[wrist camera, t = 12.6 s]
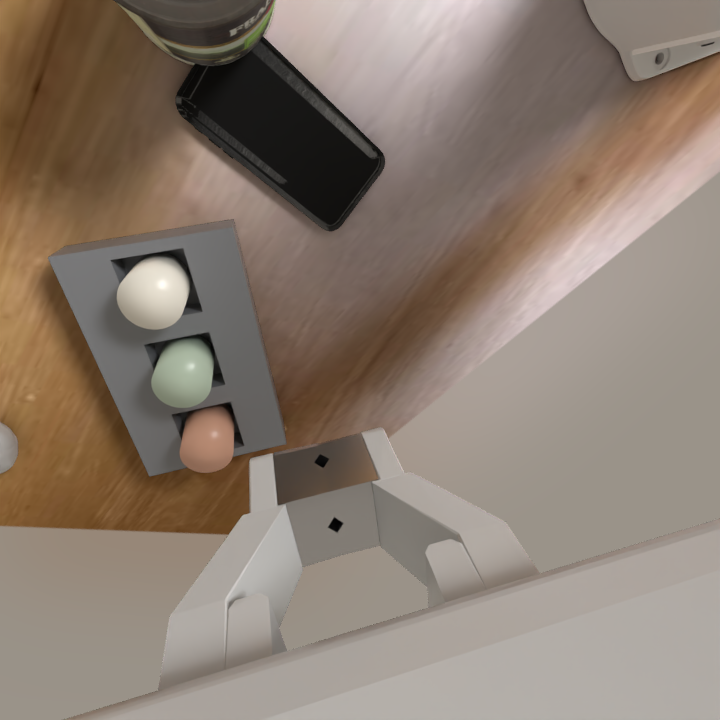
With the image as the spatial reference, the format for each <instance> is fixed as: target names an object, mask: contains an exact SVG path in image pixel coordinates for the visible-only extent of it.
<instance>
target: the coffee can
mask: <svg viewBox="0 0 720 720" xmlns="http://www.w3.org/2000/svg"><path fill="white" fill-rule="evenodd" d="M114 1H115V2H116V3H117V4H118V5H119V6H120V7H121V8H122V9H123V10H124V11H125V12H126V13H127V14H128V15H129V16H130V17H131V18H132V19H133V21H134V22H136V24H137V25H138V26H139V28H140V29H141V30H142V31H143V32H144V33H145V35H146V36H147V37H148V38H149V39H150V40H151V41H152V42H153V43H155V44H156V45H157V46H158V47H159V48H160V49H162V50H163V51H164V52H166V53H168V54H169V55H170V56H172V57H174V58H176V59H178V60H180V61H182V62H185V63H187V64H190V65H194V64H195V63H196V64H200V65H222V64H227V63H231V62H233V61H235V60H237V59H239V58H241V57H242V56H244V55H245V54H247V53H248V52H249V51H250V50H251V49H252V48H253V47H254V46H255V45H256V44H257V43H258V42H259V40H260V39H261V38H262V36H263V37H264V36H265V34H266V32H267V30H268V28H269V26H270V23H271V20H272V17H273V13H274V8H275V1H276V0H114Z"/></svg>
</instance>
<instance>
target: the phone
mask: <svg viewBox="0 0 720 720" xmlns="http://www.w3.org/2000/svg"><path fill="white" fill-rule="evenodd" d="M176 106H177V110H178V111H179V113H180V115H181V116H182V117H183V118H184V119H186V120H187V121H188V122H189V123H191V124H192V125H193V126H194V127H195V128H196V129H197V130H198V131H199V132H201V133H203V134H204V135H206V136H207V137H208V138H209V140H210V141H212V142H213V143H214V144H215V145H217V146H218V147H219V148H220V147H221V148H222V149H223V151H224V152H225V153H226V154H228V155H229V156H230V157H231V158H235V159H236V160H237V161H238V162H240V163H241V164H242V165H243V166H245V167H246V168H247V169H248V170H250V171H251V172H252V173H253V174H255V175H256V176H257V177H259V178H260V179H261V180H262V181H264V182H265V183H266V184H267V185H269V186H270V187H271V188H272V189H274V190H275V191H276V192H277V193H279V194H280V195H281V196H282V197H284V198H285V199H286V200H287V201H289V202H290V203H291V204H292V205H294V206H295V207H296V208H298V209H299V210H300V211H301V212H303V213H304V214H305V215H306V216H308V217H309V218H310V219H311V220H313V221H314V222H315V223H316V224H318V225H319V226H320V227H321V228H323V229H325V230H327V231H334V230H336V229H338V228H339V227H340V226H341V225H342V224H343V223H344V221H345V220H346V219H347V217H348V216H349V215H350V213H351V212H352V211H353V209H354V208H355V207H356V205H357V204H358V203H359V201H360V200H361V199H362V197H363V196H364V195H365V193H366V192H367V191H368V189H369V188H370V187H371V185H372V184H373V183H374V182H375V180H376V179H377V178H378V176H379V175H380V174H381V172H382V170H383V169H384V165H385V158H384V155H383V153H382V152H381V150H380V149H379V148H378V147H377V146H376V145H375V144H373V143H372V142H371V141H370V140H369V139H368V138H367V137H366V136H365V135H364V134H363V133H362V132H361V131H360V130H359V129H358V128H357V127H356V126H355V125H354V124H353V123H352V122H351V121H350V120H349V119H348V118H347V117H346V116H345V115H344V114H343V113H342V112H341V111H339V110H338V109H337V108H336V107H335V106H334V105H333V104H332V103H331V102H330V101H329V100H328V99H327V98H326V97H325V96H324V95H323V94H322V93H321V92H320V91H319V90H318V89H317V88H316V87H315V86H314V85H313V84H312V83H311V82H310V81H309V80H308V79H306V78H305V77H304V76H303V75H302V74H301V73H300V72H299V71H298V70H297V69H296V68H295V67H294V66H293V65H292V64H291V63H290V62H289V61H288V60H287V59H286V58H285V57H284V56H283V55H282V54H281V53H280V52H279V51H278V50H277V49H276V48H275V47H274V46H272V45H271V44H270V43H269V42H268V41H267V40H266V39H265V38H264V37H263V36H262V38H261V39H260V40H259V42H258V43H257V44H256V45H255V46H254V47H253V48H252V49H251V50H250V51H249V52H248V53H247V54H245V55H244V56H242V57H241V58H239V59H237V60H235V61H233V62H231V63H227V64H222V65H200V64H196V63H195V64H194V66H193V68H192V69H191V71H190V73H189V74H188V76H187V77H186V79H185V81H184V82H183V84H182V86H181V87H180V89H179V91H178V93H177V95H176Z"/></svg>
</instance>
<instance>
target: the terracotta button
mask: <svg viewBox="0 0 720 720" xmlns="http://www.w3.org/2000/svg"><path fill="white" fill-rule="evenodd" d="M234 424H235V417H234V414H233V411H232V410H231V409H230V408H229V407H228V406H227V405H226V404H224V403H222V404H218V405H213V406H209V407H204V408H200V409H195V410H191V411H189V412H188V414H187V417H186V422H185V427H184V432H183V437H182V442H181V447H180V458H181V460H182V462H183V463H184V465H185V466H187V467H188V468H189V469H191V470H193V471H196V472H201V473H210V472H215V471H218V470H221V469H222V468H224V467H225V466H227V465H228V464H229V463H230V461H231V460H232V457H233V453H234Z"/></svg>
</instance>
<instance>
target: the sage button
mask: <svg viewBox="0 0 720 720" xmlns="http://www.w3.org/2000/svg"><path fill="white" fill-rule="evenodd" d="M214 362H215V353H214V349H213V347H212V346H211V344H210V343H209V342H208V341H207V340H206V339H205V338H203V337H201V336H199V335H191V336H186V337H181V338H176V339H170V340H168V341H167V342H166V343H165V345H164V346H163V349H162V352H161V354H160V357H159V360H158V362H157V365H156V368H155V370H154V373H153V376H152V380H151V385H152V389H153V392H154V394H155V395H156V396H157V398H158V399H159V400H161V401H162V402H163V403H165V404H167V405H169V406H172V407H177V408H188V407H193V406H196V405H198V404H200V403H201V402H203V401H204V400H205V399H206V398H207V396H208V395H209V393H210V391H211V385H212V377H213V370H214Z"/></svg>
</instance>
